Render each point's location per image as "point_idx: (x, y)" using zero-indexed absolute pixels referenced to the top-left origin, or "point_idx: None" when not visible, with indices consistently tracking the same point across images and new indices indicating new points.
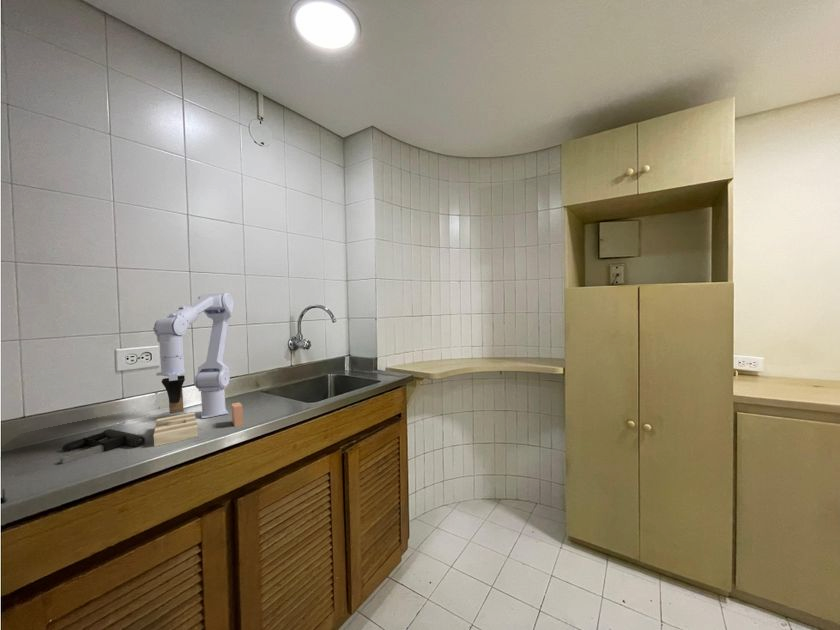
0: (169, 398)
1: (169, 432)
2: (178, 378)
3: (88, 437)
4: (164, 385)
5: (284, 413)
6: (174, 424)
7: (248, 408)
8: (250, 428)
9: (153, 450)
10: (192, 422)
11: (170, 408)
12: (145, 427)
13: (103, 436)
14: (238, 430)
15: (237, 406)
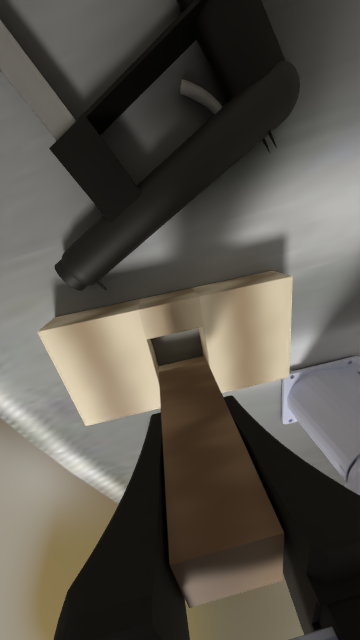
0: (146, 438)
1: (57, 368)
2: (302, 603)
3: (225, 4)
4: (82, 569)
5: None
6: (204, 341)
7: (300, 449)
8: (105, 482)
9: (12, 325)
10: (147, 402)
11: (160, 391)
12: (324, 222)
13: (230, 88)
14: (102, 466)
15: None
